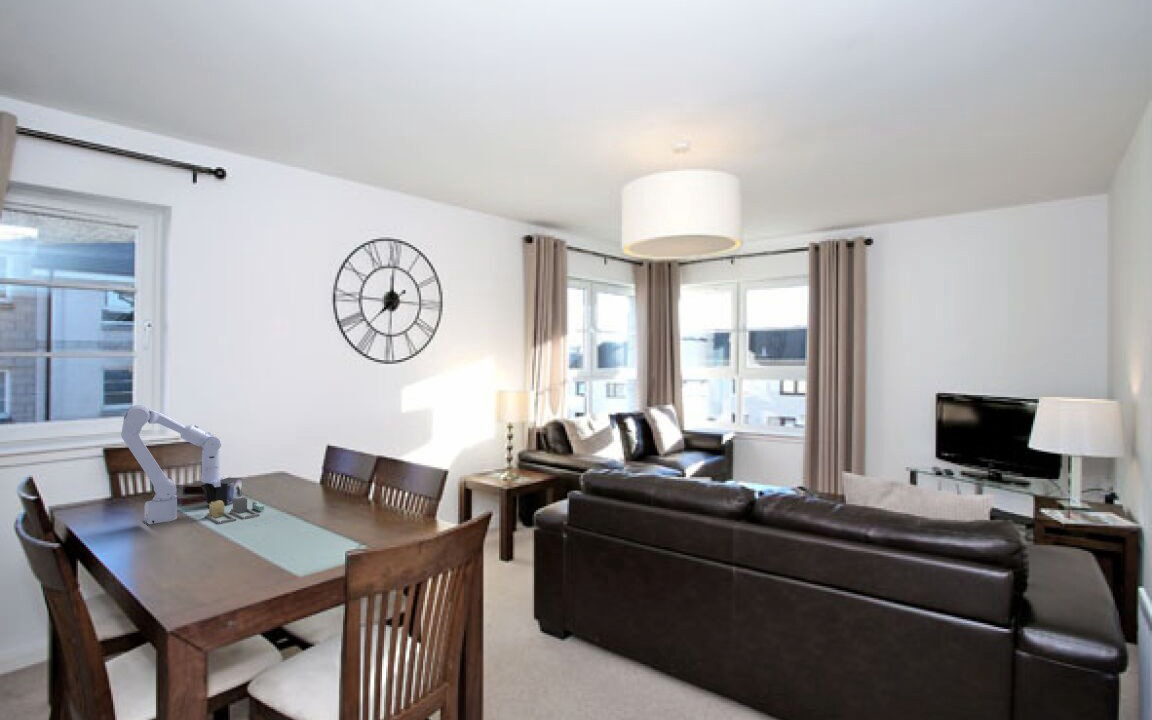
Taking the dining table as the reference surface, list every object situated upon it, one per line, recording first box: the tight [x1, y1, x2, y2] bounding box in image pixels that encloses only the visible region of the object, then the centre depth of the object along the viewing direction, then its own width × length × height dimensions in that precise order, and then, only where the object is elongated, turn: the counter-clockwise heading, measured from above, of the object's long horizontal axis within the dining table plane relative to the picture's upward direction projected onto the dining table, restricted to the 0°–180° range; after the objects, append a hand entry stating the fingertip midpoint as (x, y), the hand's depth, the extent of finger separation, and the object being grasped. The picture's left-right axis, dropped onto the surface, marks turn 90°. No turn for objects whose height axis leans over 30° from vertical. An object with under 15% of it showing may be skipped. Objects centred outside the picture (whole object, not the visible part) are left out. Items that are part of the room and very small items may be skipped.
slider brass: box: [208, 500, 225, 519], centre depth 218 cm, size 4×3×6 cm
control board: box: [205, 507, 261, 525], centre depth 219 cm, size 22×16×2 cm
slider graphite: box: [232, 495, 248, 514], centre depth 224 cm, size 4×3×6 cm
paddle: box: [251, 501, 265, 512], centre depth 226 cm, size 2×7×3 cm, turn 49°
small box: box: [215, 476, 243, 507], centre depth 238 cm, size 11×6×10 cm, turn 179°
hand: (210, 503), depth 222 cm, fingers closed
